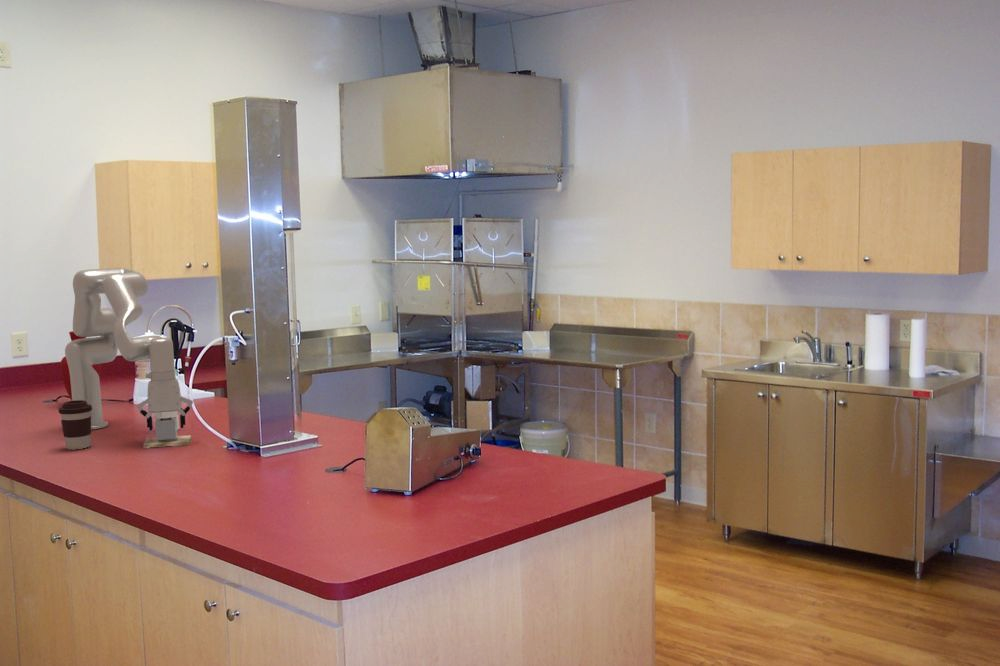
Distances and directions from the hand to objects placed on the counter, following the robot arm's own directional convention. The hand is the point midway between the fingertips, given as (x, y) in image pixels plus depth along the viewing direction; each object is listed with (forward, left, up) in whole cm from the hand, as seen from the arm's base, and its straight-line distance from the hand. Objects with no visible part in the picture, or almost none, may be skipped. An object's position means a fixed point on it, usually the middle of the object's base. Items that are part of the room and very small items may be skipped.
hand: (166, 428), depth 335 cm
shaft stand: (0, 0, -5) cm, 5 cm away
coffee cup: (-28, +5, -5) cm, 29 cm away
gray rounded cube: (0, 0, -3) cm, 3 cm away
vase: (-39, +88, -5) cm, 96 cm away
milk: (-2, +24, -5) cm, 25 cm away
